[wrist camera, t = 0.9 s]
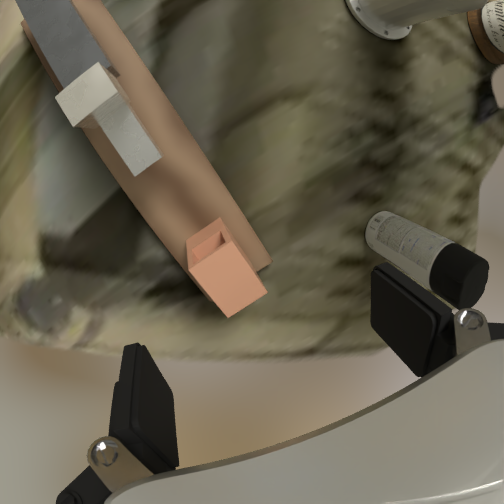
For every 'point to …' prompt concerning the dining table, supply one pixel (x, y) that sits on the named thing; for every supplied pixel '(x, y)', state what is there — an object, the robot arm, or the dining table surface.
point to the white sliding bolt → (109, 116)
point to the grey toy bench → (64, 38)
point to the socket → (223, 268)
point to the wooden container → (489, 30)
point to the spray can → (429, 258)
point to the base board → (173, 148)
